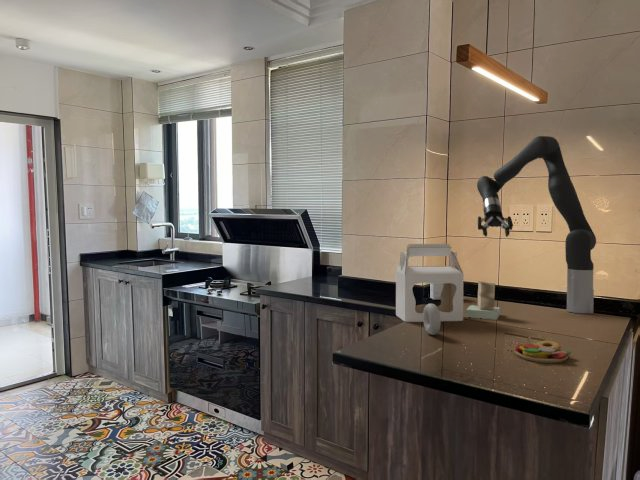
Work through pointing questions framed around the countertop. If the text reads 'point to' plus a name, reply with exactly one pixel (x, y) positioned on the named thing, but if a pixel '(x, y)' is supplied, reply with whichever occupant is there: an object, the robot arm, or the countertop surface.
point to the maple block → (486, 295)
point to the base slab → (482, 313)
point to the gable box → (429, 274)
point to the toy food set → (542, 352)
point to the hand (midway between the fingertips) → (496, 235)
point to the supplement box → (436, 291)
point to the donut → (431, 319)
